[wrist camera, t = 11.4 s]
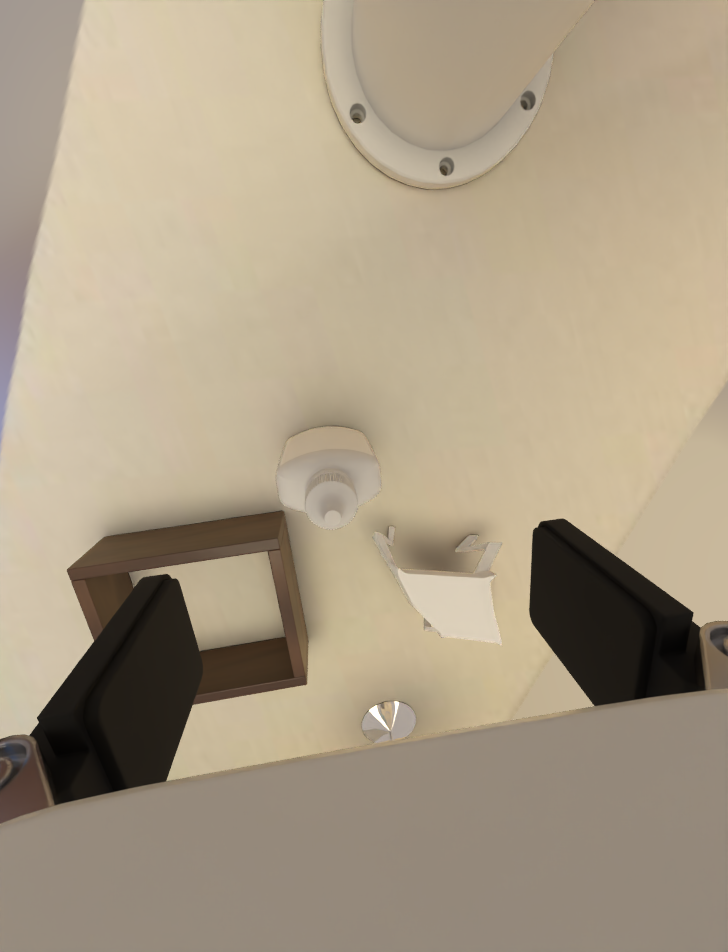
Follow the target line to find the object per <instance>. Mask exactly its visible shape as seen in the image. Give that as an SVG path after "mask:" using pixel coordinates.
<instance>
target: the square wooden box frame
mask: <svg viewBox="0 0 728 952" xmlns="http://www.w3.org/2000/svg"><path fill="white" fill-rule="evenodd" d="M264 551H268V555H269V559H270V564H271V569H272V574H273V579H274V583H275V588H276V593H277V598H278V602H279V607H280V612H281V617H282V622H283V626H284V631H285V636H286V637H284V638H278V639H272V640H266V641H260V642H255V643H249V644H243V645H237V646H231V647H225V648H219V649H213V650H207V651H201V652H200V655H201V659H202V663H203V676H202V679H201V682H200V685H199V688H198V691H197V694H196V696H195V699H194V702H193V705H194V704H200V703H205V702H211V701H217V700H222V699H228V698H234V697H239V696H245V695H251V694H256V693H262V692H268V691H273V690H279V689H284V688H290V687H296V686H301V685H306V684H307V672H308V636H307V631H306V625H305V620H304V615H303V609H302V604H301V599H300V593H299V588H298V583H297V578H296V572H295V567H294V562H293V556H292V551H291V546H290V540H289V535H288V530H287V525H286V519H285V514H284V511H279V512H272V513H265V514H258V515H251V516H244V517H237V518H231V519H224V520H217V521H210V522H203V523H196V524H189V525H183V526H176V527H169V528H162V529H155V530H148V531H141V532H134V533H128V534H121V535H114V536H107V537H104V538H103V539H101V540H100V541H99V542H98V543H97V544H96V545H95V546H93V547H92V548H91V549H90V550H89V551H88V552H87V553H85V554H84V555H83V556H82V557H81V558H80V559H79V560H77V561H76V562H75V563H74V564H73V565H72V566H71V567H69V568H68V569H67V572H68V575H69V577H70V580H71V582H72V585H73V588H74V590H75V593H76V595H77V598H78V600H79V603H80V605H81V608H82V611H83V613H84V616H85V618H86V621H87V623H88V626H89V629H90V631H91V634H92V636H93V639H94V641H95V640H96V638H97V637H98V636H99V634H100V633H101V632H102V630H103V629H104V628H105V626H106V625H107V624H108V622H109V621H110V620H111V618H112V617H113V616H114V614H115V613H116V612H117V610H118V609H119V608H120V606H121V605H122V604H123V602H124V601H125V600H126V598H127V597H128V596H129V594H130V593H131V592H132V590H133V586H132V583H131V580H130V577H129V574H128V572H133V571H139V570H146V569H152V568H159V567H165V566H172V565H179V564H185V563H192V562H198V561H205V560H211V559H218V558H225V557H231V556H238V555H244V554H251V553H257V552H264Z"/></svg>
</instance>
